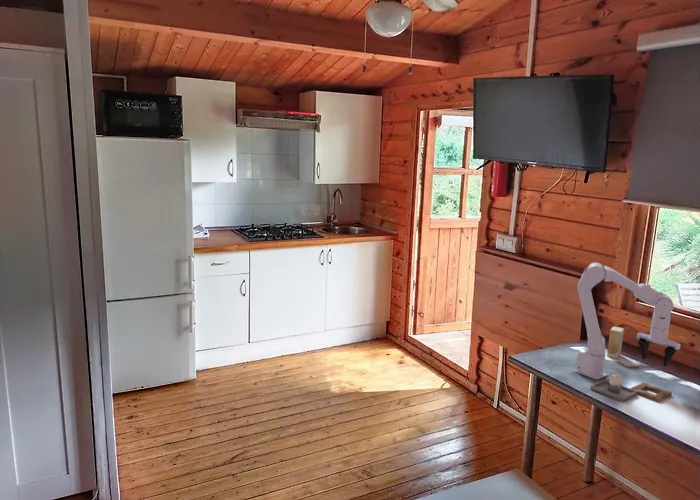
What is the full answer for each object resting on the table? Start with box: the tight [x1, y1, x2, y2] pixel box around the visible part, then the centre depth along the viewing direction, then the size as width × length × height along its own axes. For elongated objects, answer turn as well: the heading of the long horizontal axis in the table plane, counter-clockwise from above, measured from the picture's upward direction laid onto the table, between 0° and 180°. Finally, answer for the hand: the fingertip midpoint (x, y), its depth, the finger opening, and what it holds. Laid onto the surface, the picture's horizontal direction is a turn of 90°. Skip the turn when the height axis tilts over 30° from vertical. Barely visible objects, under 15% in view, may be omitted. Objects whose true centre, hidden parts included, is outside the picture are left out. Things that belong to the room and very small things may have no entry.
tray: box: [590, 379, 638, 403], centre depth 192 cm, size 12×10×2 cm
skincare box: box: [606, 326, 625, 359], centre depth 228 cm, size 6×4×12 cm
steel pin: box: [608, 372, 623, 393], centre depth 191 cm, size 4×4×6 cm
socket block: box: [630, 381, 673, 403], centre depth 192 cm, size 10×10×1 cm
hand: (654, 362), depth 197 cm, fingers open, 7 cm apart
